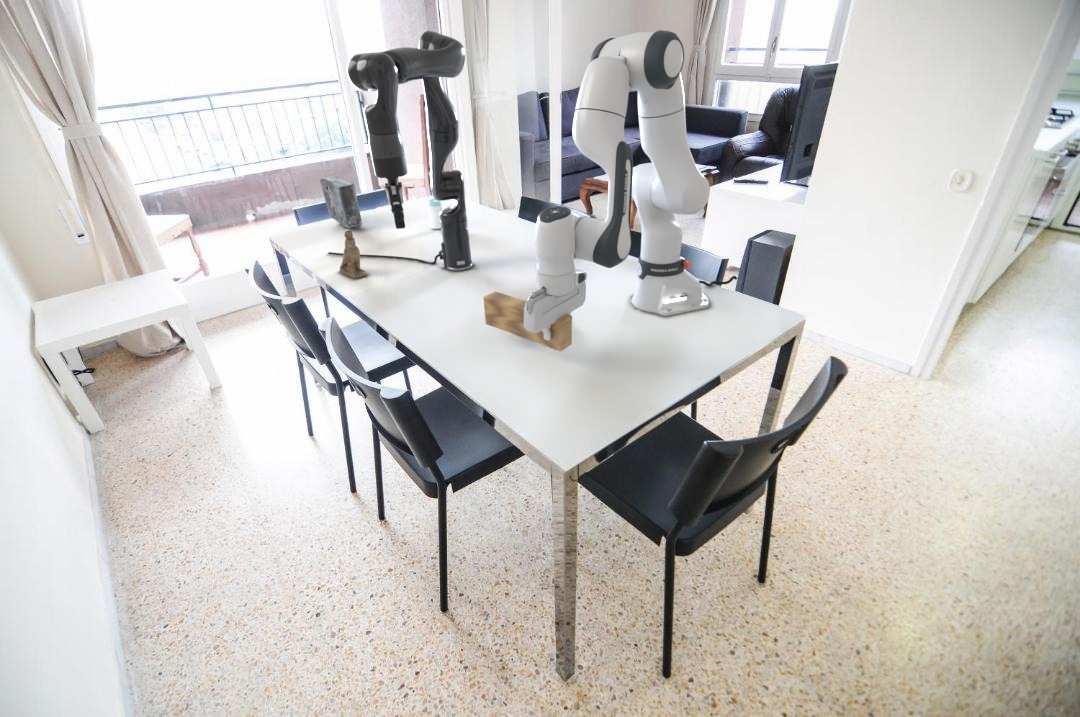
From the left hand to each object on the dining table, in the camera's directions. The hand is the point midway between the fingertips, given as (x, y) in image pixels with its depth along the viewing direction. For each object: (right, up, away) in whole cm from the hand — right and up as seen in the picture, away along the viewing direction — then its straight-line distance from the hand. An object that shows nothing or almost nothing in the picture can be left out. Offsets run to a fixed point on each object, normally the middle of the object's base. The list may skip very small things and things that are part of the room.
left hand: (400, 223), depth 124 cm
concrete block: (-55, +28, +107) cm, 124 cm away
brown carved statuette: (-33, -3, +55) cm, 64 cm away
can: (-11, +25, +100) cm, 103 cm away
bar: (+31, -27, +4) cm, 42 cm away
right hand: (+39, -28, -3) cm, 48 cm away
